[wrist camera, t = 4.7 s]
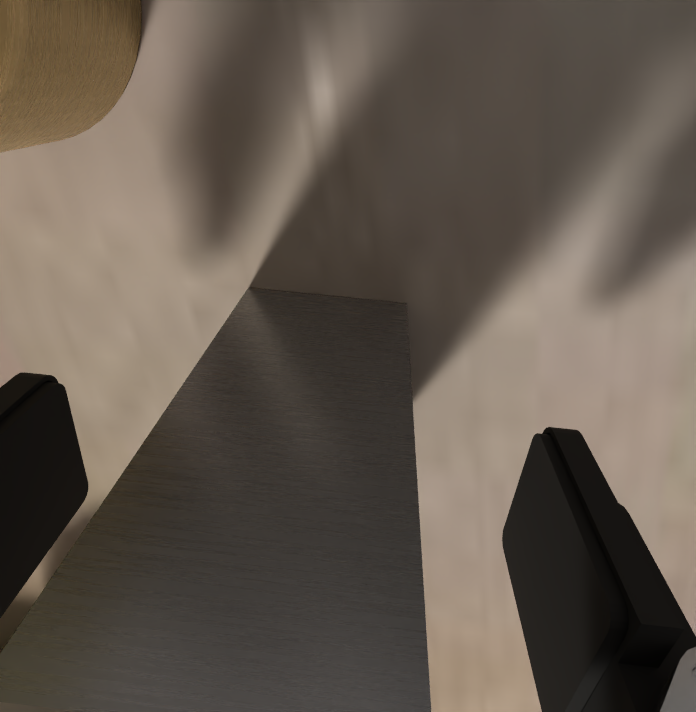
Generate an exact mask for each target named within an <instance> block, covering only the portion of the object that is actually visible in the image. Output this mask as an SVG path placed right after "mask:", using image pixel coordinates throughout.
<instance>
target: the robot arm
mask: <svg viewBox="0 0 696 712" xmlns="http://www.w3.org/2000/svg"><path fill="white" fill-rule="evenodd" d="M87 492H88V481H87V476H86V472H85V468H84V464H83V460H82V456H81V451H80V447H79V443H78V439H77V435H76V431H75V426H74V422H73V418H72V414H71V410H70V406H69V401H68V397H67V393H66V390H65V387H64V386H63V385H62V384H59V383H58V381H57V379H56V378H55V377H54V376H51V375H43V374H33V373H19V374H17V375H16V376H14V377H13V378H12V379H11V380H9V381H8V382H7V383H6V384H4V385H3V386H2V387H1V388H0V618H1V616H2V615H3V614H4V612H5V611H6V609H7V608H8V607H9V605H10V604H11V603H12V601H13V600H14V598H15V597H16V596H17V594H18V593H19V591H20V590H21V589H22V587H23V586H24V584H25V583H26V582H27V580H28V579H29V577H30V576H31V575H32V573H33V572H34V570H35V569H36V568H37V566H38V565H39V563H40V562H41V561H42V559H43V558H44V556H45V555H46V554H47V552H48V551H49V549H50V548H51V547H52V545H53V544H54V542H55V541H56V540H57V538H58V537H59V535H60V534H61V533H62V531H63V530H64V528H65V527H66V526H67V524H68V523H69V521H70V520H71V519H72V517H73V516H74V515H75V513H76V512H77V510H78V509H79V508H80V506H81V505H82V503H83V502H84V500H85V498H86V496H87ZM502 541H503V549H504V554H505V558H506V562H507V566H508V570H509V575H510V579H511V583H512V587H513V591H514V596H515V600H516V604H517V608H518V613H519V617H520V621H521V625H522V629H523V634H524V638H525V642H526V646H527V650H528V655H529V659H530V663H531V667H532V671H533V676H534V680H535V684H536V688H537V692H538V697H539V701H540V705H541V709H542V712H696V636H695V634H694V633H693V631H692V629H691V627H690V625H689V623H688V622H687V620H686V618H685V616H684V614H683V612H682V610H681V609H680V607H679V605H678V603H677V601H676V599H675V598H674V596H673V594H672V592H671V590H670V588H669V586H668V585H667V583H666V581H665V579H664V577H663V575H662V574H661V572H660V570H659V568H658V566H657V564H656V563H655V561H654V559H653V557H652V555H651V553H650V551H649V550H648V548H647V546H646V544H645V542H644V540H643V539H642V537H641V535H640V533H639V531H638V529H637V527H636V526H635V524H634V522H633V520H632V518H631V516H630V515H629V513H628V512H627V510H626V509H625V507H623V506H622V505H620V504H619V503H618V502H617V500H616V498H615V496H614V494H613V492H612V491H611V489H610V487H609V485H608V483H607V481H606V479H605V477H604V475H603V474H602V472H601V470H600V468H599V466H598V464H597V462H596V460H595V459H594V457H593V455H592V453H591V451H590V449H589V447H588V445H587V443H586V442H585V440H584V438H583V436H582V434H581V433H580V432H579V431H578V430H572V429H562V428H553V427H548V428H546V429H545V430H544V432H543V434H538V433H537V434H535V435H534V437H533V439H532V442H531V445H530V449H529V452H528V455H527V458H526V461H525V464H524V467H523V470H522V473H521V476H520V479H519V483H518V486H517V489H516V492H515V495H514V498H513V501H512V504H511V507H510V510H509V514H508V517H507V520H506V523H505V526H504V529H503V537H502ZM0 712H80V711H72V710H63V709H55V708H46V707H38V706H29V705H20V704H12V703H3V702H0Z"/></svg>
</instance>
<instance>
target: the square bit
mask: <svg viewBox="0 0 696 712" xmlns="http://www.w3.org/2000/svg"><path fill="white" fill-rule="evenodd" d="M0 702H3V703H12V704H20V705H29V706H38V707H46V708H55V709H63V710H72V711H80V712H431V701H430V684H429V668H428V651H427V635H426V618H425V602H424V585H423V569H422V552H421V536H420V519H419V503H418V486H417V469H416V453H415V436H414V420H413V403H412V387H411V370H410V354H409V337H408V321H407V304H406V303H397V302H387V301H377V300H367V299H357V298H347V297H336V296H326V295H316V294H306V293H296V292H286V291H276V290H266V289H256V288H248V289H247V291H246V292H245V294H244V295H243V297H242V298H241V299H240V301H239V302H238V304H237V305H236V307H235V308H234V310H233V311H232V313H231V314H230V316H229V317H228V319H227V320H226V322H225V323H224V325H223V326H222V327H221V329H220V330H219V332H218V333H217V335H216V336H215V338H214V339H213V341H212V342H211V344H210V345H209V347H208V348H207V350H206V351H205V353H204V354H203V355H202V357H201V358H200V360H199V361H198V363H197V364H196V366H195V367H194V369H193V370H192V372H191V373H190V375H189V376H188V378H187V379H186V381H185V382H184V383H183V385H182V386H181V388H180V389H179V391H178V392H177V394H176V395H175V397H174V398H173V400H172V401H171V403H170V404H169V406H168V407H167V409H166V410H165V411H164V413H163V414H162V416H161V417H160V419H159V420H158V422H157V423H156V425H155V426H154V428H153V429H152V431H151V432H150V434H149V435H148V437H147V438H146V439H145V441H144V442H143V444H142V445H141V447H140V448H139V450H138V451H137V453H136V454H135V456H134V457H133V459H132V460H131V462H130V463H129V465H128V466H127V467H126V469H125V470H124V472H123V473H122V475H121V476H120V478H119V479H118V481H117V482H116V484H115V485H114V487H113V488H112V490H111V491H110V493H109V494H108V495H107V497H106V498H105V500H104V501H103V503H102V504H101V506H100V507H99V509H98V510H97V512H96V513H95V515H94V516H93V518H92V519H91V521H90V522H89V523H88V525H87V526H86V528H85V529H84V531H83V532H82V534H81V535H80V537H79V538H78V540H77V541H76V543H75V544H74V546H73V547H72V549H71V550H70V551H69V553H68V554H67V556H66V557H65V559H64V560H63V562H62V563H61V565H60V566H59V568H58V569H57V571H56V572H55V574H54V575H53V577H52V578H51V579H50V581H49V582H48V584H47V585H46V587H45V588H44V590H43V591H42V593H41V594H40V596H39V597H38V599H37V600H36V602H35V603H34V605H33V606H32V607H31V609H30V610H29V612H28V613H27V615H26V616H25V618H24V619H23V621H22V622H21V624H20V625H19V627H18V628H17V630H16V631H15V632H14V634H13V635H12V637H11V638H10V640H9V641H8V643H7V644H6V646H5V647H4V649H3V650H2V652H1V653H0Z"/></svg>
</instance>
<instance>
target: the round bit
mask: <svg viewBox="0 0 696 712" xmlns="http://www.w3.org/2000/svg"><path fill="white" fill-rule="evenodd" d="M141 17H142V13H141V0H0V152H5V151H10V150H15V149H20V148H25V147H30V146H35V145H40V144H45V143H50V142H55V141H60V140H63V139H66V138H70V137H73V136H76V135H78V134H80V133H82V132H84V131H86V130H88V129H89V128H91V127H92V126H93V125H95V124H96V123H97V122H99V121H100V120H102V119H103V117H104V116H105V115H106V114H107V113H108V112H109V111H110V110H111V109H112V108H113V107H114V105H115V104H116V102H117V101H118V99H119V98H120V97H121V95H122V94H123V92H124V90H125V88H126V85H127V83H128V81H129V79H130V77H131V74H132V71H133V68H134V65H135V62H136V58H137V53H138V47H139V42H140V34H141Z"/></svg>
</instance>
